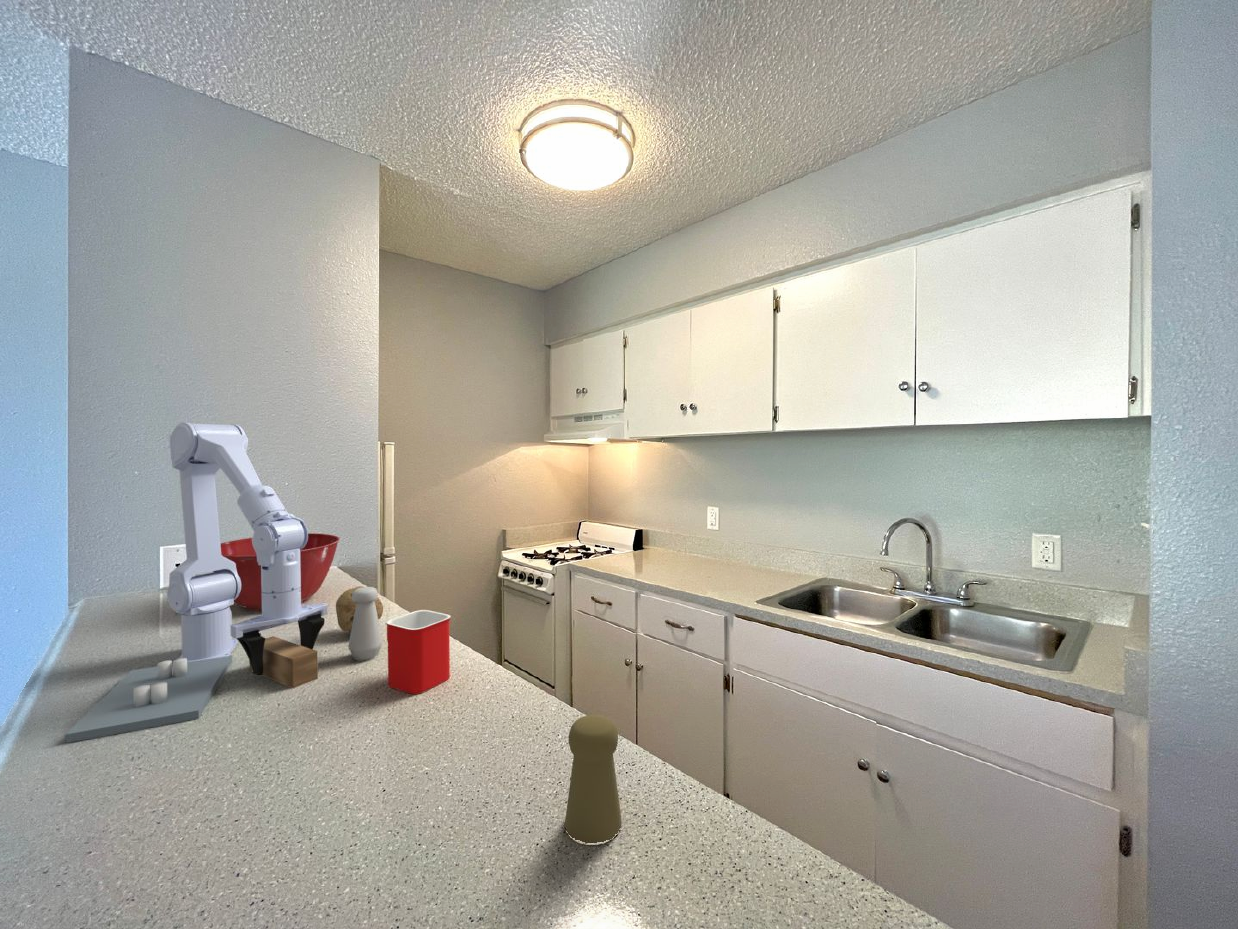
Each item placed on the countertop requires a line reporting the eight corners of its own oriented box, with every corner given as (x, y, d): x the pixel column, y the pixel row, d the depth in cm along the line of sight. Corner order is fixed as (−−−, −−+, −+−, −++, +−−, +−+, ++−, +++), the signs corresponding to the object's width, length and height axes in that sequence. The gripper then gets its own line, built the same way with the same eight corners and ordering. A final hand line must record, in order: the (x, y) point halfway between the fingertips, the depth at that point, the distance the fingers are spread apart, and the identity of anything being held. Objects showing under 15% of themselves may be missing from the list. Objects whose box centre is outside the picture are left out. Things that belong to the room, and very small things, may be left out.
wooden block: (249, 671, 91) (248, 643, 91) (273, 663, 95) (273, 636, 94) (293, 689, 84) (292, 659, 84) (317, 680, 88) (317, 651, 88)
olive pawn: (565, 805, 57) (565, 708, 56) (619, 802, 57) (619, 705, 57) (563, 848, 51) (563, 739, 50) (624, 844, 51) (624, 736, 51)
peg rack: (131, 677, 88) (131, 656, 88) (232, 662, 94) (231, 642, 94) (66, 743, 68) (65, 716, 68) (198, 718, 75) (198, 693, 75)
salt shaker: (368, 664, 94) (367, 593, 93) (341, 661, 95) (340, 591, 94) (389, 651, 99) (388, 585, 99) (363, 649, 101) (362, 583, 100)
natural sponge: (385, 624, 115) (385, 580, 115) (380, 638, 106) (380, 590, 106) (340, 628, 112) (339, 583, 112) (331, 643, 104) (330, 594, 103)
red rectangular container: (455, 677, 89) (455, 616, 88) (416, 697, 81) (415, 631, 81) (408, 662, 94) (408, 605, 94) (367, 680, 87) (367, 618, 87)
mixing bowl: (296, 621, 117) (295, 554, 116) (172, 620, 117) (171, 553, 117) (360, 587, 145) (359, 533, 144) (261, 587, 145) (259, 533, 145)
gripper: (243, 603, 81) (244, 688, 81) (335, 583, 93) (336, 657, 93) (224, 596, 85) (226, 677, 85) (315, 577, 97) (317, 648, 97)
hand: (282, 666), depth 89 cm, fingers open, 7 cm apart
